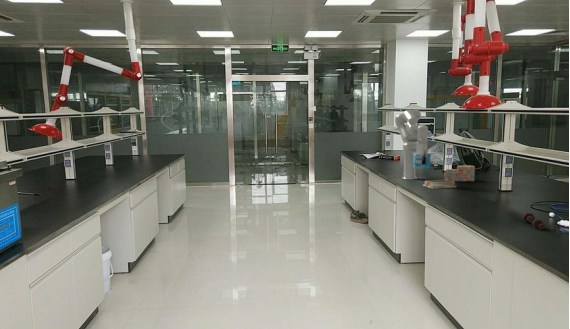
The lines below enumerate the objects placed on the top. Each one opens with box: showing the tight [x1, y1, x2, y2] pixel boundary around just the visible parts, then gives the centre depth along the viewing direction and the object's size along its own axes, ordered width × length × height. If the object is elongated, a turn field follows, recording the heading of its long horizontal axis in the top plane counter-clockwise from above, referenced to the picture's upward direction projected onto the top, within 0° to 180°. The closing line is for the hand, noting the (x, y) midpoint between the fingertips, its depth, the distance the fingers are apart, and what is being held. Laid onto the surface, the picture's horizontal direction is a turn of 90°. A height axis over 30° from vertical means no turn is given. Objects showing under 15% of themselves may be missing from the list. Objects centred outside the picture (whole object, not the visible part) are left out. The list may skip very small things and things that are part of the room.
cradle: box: [422, 178, 457, 190], centre depth 316 cm, size 14×20×4 cm
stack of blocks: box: [445, 164, 476, 182], centre depth 338 cm, size 21×6×12 cm, turn 80°
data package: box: [413, 153, 431, 170], centre depth 327 cm, size 12×4×12 cm, turn 88°
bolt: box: [522, 212, 546, 230], centre depth 208 cm, size 6×5×15 cm
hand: (421, 163), depth 327 cm, fingers closed on data package, 5 cm apart
